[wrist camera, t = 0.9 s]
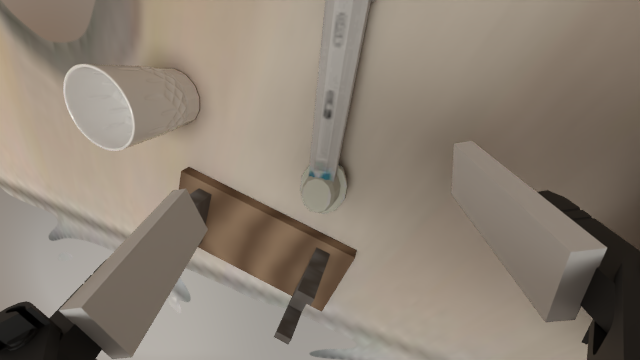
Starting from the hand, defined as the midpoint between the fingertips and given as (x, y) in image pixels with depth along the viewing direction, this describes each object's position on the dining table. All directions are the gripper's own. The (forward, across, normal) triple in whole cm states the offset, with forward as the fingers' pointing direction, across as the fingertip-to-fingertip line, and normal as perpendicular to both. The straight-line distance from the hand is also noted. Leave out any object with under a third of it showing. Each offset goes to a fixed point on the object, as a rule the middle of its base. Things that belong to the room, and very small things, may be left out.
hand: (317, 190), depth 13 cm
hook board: (+18, +13, +18) cm, 29 cm away
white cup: (+23, +18, -3) cm, 29 cm away
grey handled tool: (+18, -2, 0) cm, 18 cm away
